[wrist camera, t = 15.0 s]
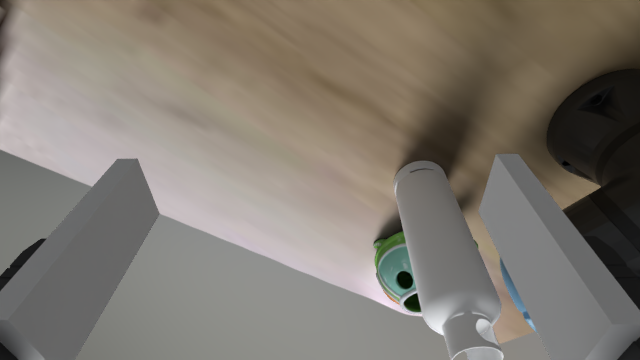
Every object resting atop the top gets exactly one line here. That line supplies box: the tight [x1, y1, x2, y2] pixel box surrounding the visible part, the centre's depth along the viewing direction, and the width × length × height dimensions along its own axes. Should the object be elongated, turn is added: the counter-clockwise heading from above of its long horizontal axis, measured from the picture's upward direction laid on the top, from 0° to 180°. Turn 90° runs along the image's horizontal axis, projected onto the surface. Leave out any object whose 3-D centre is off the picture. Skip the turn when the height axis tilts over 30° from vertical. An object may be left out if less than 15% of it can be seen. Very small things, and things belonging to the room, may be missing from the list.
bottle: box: [393, 160, 504, 360], centre depth 45 cm, size 8×8×28 cm
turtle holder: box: [373, 223, 478, 314], centre depth 59 cm, size 12×18×12 cm
